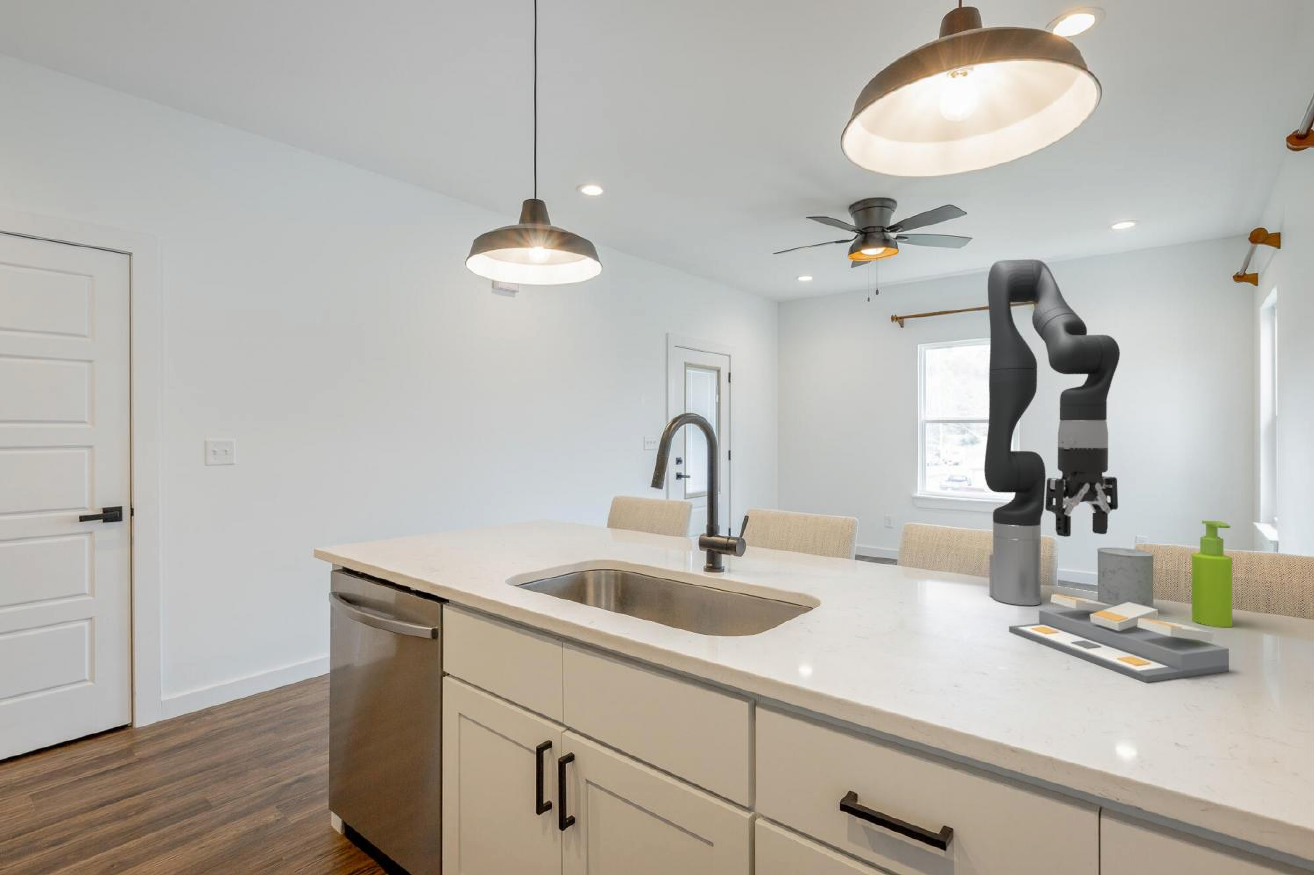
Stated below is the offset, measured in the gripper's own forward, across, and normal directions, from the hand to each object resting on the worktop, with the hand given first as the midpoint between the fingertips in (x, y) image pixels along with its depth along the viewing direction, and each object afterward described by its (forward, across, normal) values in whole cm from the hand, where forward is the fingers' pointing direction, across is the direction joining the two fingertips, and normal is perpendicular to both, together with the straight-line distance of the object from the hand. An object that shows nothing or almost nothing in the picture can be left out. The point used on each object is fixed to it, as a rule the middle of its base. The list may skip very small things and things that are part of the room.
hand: (1081, 534), depth 113 cm
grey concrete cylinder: (+19, -26, -11) cm, 34 cm away
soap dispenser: (+19, -32, +1) cm, 38 cm away
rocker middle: (+14, -2, +6) cm, 15 cm away
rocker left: (+14, -2, -2) cm, 14 cm away
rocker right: (+14, -2, +14) cm, 20 cm away
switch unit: (+18, +2, +6) cm, 20 cm away
